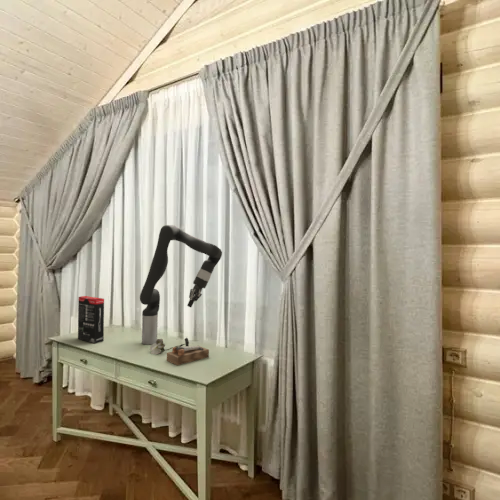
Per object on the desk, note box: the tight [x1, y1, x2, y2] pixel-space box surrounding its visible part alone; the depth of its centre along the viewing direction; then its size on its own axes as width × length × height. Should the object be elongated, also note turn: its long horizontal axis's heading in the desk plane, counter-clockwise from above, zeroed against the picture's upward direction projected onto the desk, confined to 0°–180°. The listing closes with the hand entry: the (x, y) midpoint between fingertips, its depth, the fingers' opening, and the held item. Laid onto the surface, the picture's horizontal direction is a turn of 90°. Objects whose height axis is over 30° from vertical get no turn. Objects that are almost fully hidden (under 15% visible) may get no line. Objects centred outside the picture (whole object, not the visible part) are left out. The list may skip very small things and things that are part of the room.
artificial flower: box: [149, 337, 190, 355], centre depth 192 cm, size 9×22×10 cm, turn 114°
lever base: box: [166, 345, 210, 366], centre depth 179 cm, size 20×10×7 cm, turn 135°
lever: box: [176, 345, 202, 350], centre depth 179 cm, size 14×3×1 cm, turn 135°
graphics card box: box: [77, 295, 105, 344], centre depth 210 cm, size 17×7×27 cm, turn 63°
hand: (189, 306), depth 188 cm, fingers closed
